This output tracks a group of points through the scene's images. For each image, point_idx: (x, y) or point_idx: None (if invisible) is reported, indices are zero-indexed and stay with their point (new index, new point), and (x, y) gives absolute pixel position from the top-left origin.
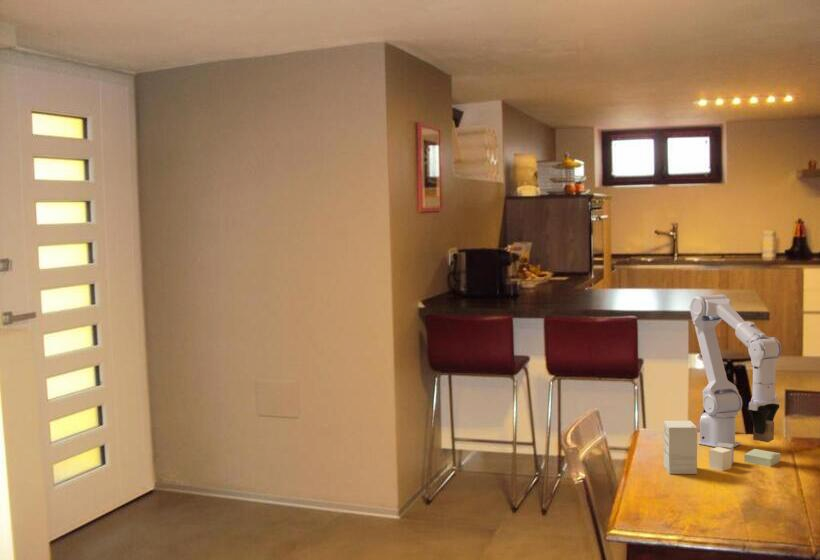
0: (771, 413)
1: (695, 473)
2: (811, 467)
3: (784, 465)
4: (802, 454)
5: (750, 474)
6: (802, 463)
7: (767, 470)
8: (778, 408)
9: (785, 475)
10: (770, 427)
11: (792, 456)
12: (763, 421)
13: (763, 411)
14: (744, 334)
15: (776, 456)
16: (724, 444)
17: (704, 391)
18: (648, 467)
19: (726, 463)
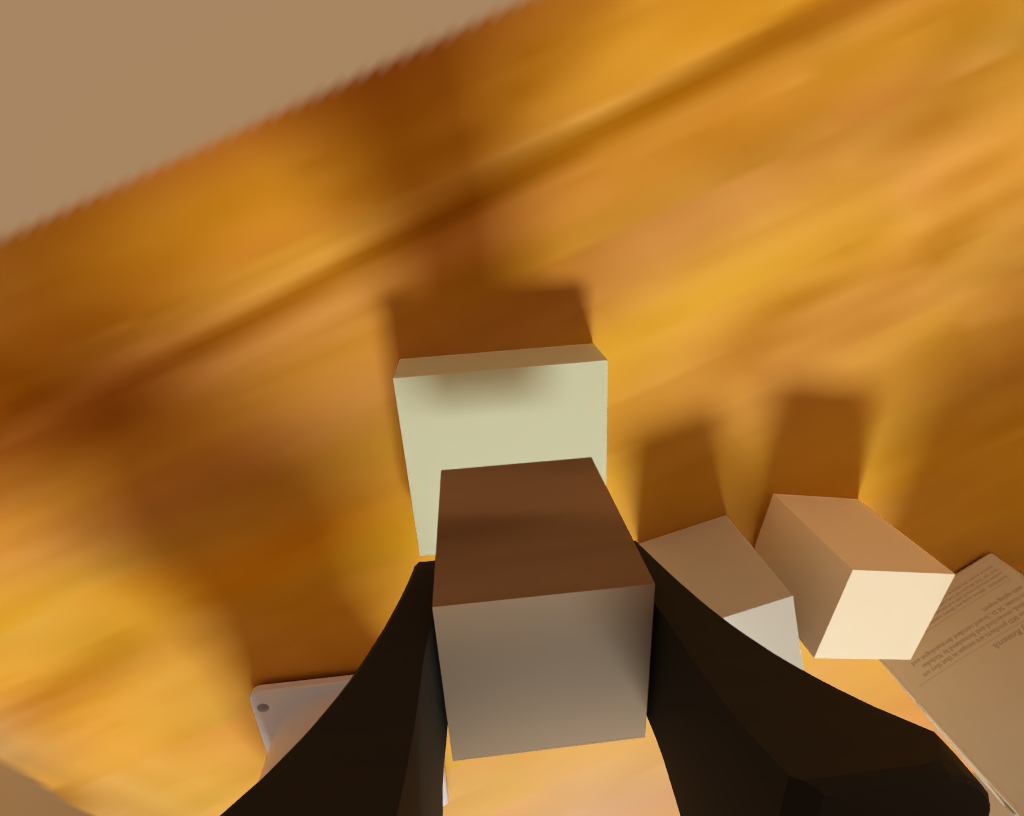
0: (418, 753)
1: (997, 558)
2: (374, 89)
3: (486, 285)
4: (76, 315)
5: (840, 356)
6: (323, 202)
7: (688, 318)
8: (232, 811)
9: (733, 164)
10: (559, 551)
11: (205, 347)
12: (751, 645)
13: (982, 809)
14: None
15: (477, 368)
16: None
17: None
18: None
19: (846, 518)
